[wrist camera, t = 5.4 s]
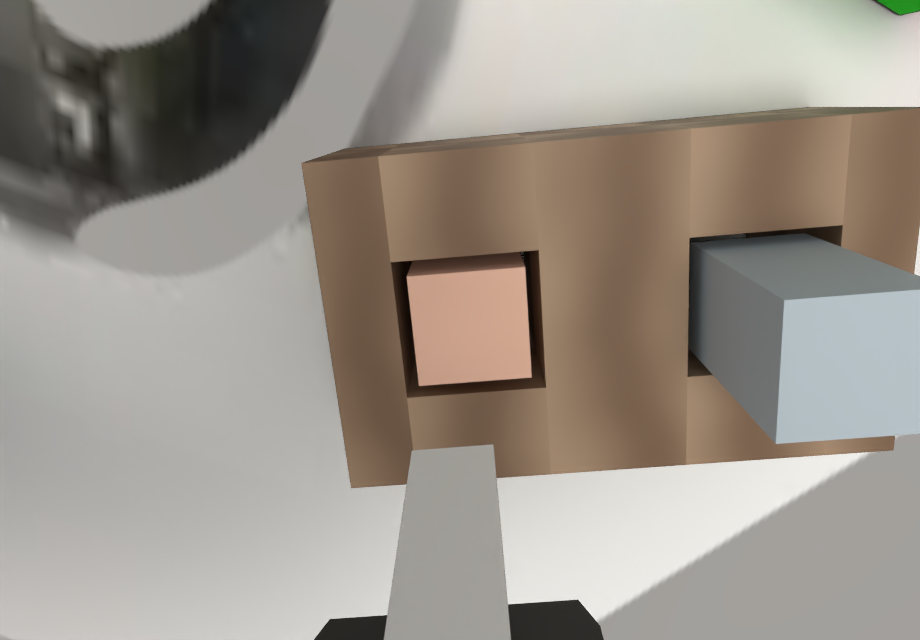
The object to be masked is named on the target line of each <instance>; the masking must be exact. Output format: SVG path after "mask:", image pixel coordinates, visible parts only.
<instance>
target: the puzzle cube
mask: <svg viewBox="0 0 920 640" xmlns="http://www.w3.org/2000/svg"><path fill="white" fill-rule="evenodd" d="M876 1H878V2H879V3H881V4H883V5H884V6H886V7H887V8H889V9H891V10H892V11H894V12H895V13H897V14H899V15H904V14H909V13H914V12H918V11H920V0H876Z"/></svg>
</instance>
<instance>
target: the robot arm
mask: <svg viewBox="0 0 920 640" xmlns="http://www.w3.org/2000/svg"><path fill="white" fill-rule="evenodd" d="M314 640H604V639H603V636H602V632H601V628H600V625H599V624H598V623H597V622H596V621H595V619H594V618H593V617H592V616H591V615H590V613H589V612H588V611H587V610H586V609H585V608H584V606H583V605H582V604H581V603H580V602H579V600H568V601H553V602H539V603H524V604H510V605H508V601H507V590H506V579H505V568H504V556H503V545H502V534H501V523H500V512H499V501H498V490H497V479H496V468H495V456H494V445H493V444H492V445H479V446H466V447H452V448H439V449H426V450H413V451H412V452H411V459H410V466H409V473H408V479H407V486H406V493H405V500H404V506H403V513H402V520H401V527H400V533H399V540H398V547H397V554H396V560H395V567H394V574H393V581H392V587H391V594H390V601H389V608H388V614H387V615H385V616H370V617H356V618H341V619H330V620H329V621H328V622H327V624H326V625H325V626H324V628H323V629H322V630H321V631H320V633H319V634H318V635H317V637H316V638H315V639H314Z"/></svg>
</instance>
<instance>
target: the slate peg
mask: <svg viewBox="0 0 920 640" xmlns="http://www.w3.org/2000/svg"><path fill="white" fill-rule="evenodd" d="M689 349H690V350H691V351H692V352H693V353H694V355H695V356H696V357H697V358H698V359H699V360H700V361H701V362H702V363H703V364H704V366H705V367H706V368H707V369H708V370H709V371H710V372H711V373H712V374H713V375H714V377H715V378H716V379H717V380H718V381H719V382H720V383H721V384H722V385H723V386H724V388H725V389H726V390H727V391H728V392H729V393H730V394H731V395H732V396H733V397H734V399H735V400H736V401H737V402H738V403H739V404H740V405H741V406H742V407H743V408H744V410H745V411H746V412H747V413H748V414H749V415H750V416H751V417H752V418H753V419H754V421H755V422H756V423H757V424H758V425H759V426H760V427H761V428H762V429H763V430H764V431H765V433H766V434H767V435H768V436H769V437H770V438H771V439H772V440H773V441H774V442H775V444H782V443H796V442H810V441H824V440H838V439H853V438H867V437H881V436H895V435H908V434H920V276H917V275H915V274H912V273H909V272H907V271H904V270H901V269H899V268H896V267H893V266H891V265H888V264H885V263H883V262H880V261H877V260H875V259H872V258H869V257H867V256H864V255H861V254H859V253H856V252H853V251H851V250H848V249H845V248H843V247H840V246H837V245H835V244H832V243H829V242H827V241H824V240H821V239H819V238H816V237H813V236H811V235H808V234H806V233H802V234H789V235H777V236H765V237H753V238H741V239H729V240H717V241H704V242H692V243H690V302H689Z"/></svg>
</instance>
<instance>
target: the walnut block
mask: <svg viewBox="0 0 920 640" xmlns="http://www.w3.org/2000/svg"><path fill="white" fill-rule="evenodd" d="M302 170H303V177H304V183H305V189H306V196H307V203H308V209H309V216H310V222H311V229H312V235H313V242H314V248H315V255H316V261H317V268H318V274H319V281H320V287H321V294H322V300H323V307H324V313H325V320H326V327H327V333H328V340H329V346H330V353H331V359H332V366H333V372H334V379H335V385H336V392H337V398H338V405H339V411H340V418H341V424H342V431H343V437H344V444H345V450H346V457H347V463H348V470H349V476H350V483H351V488H360V487H374V486H388V485H403V484H407V479H408V473H409V466H410V459H411V452H412V451H413V450H426V449H439V448H452V447H466V446H479V445H492V444H493V445H494V456H495V468H496V478H503V477H517V476H531V475H546V474H560V473H574V472H589V471H603V470H617V469H632V468H646V467H660V466H675V465H689V464H703V463H718V462H732V461H746V460H761V459H775V458H789V457H804V456H818V455H832V454H847V453H861V452H875V451H890V450H893V449H894V440H895V436H881V437H867V438H853V439H838V440H824V441H810V442H796V443H782V444H775V442H774V441H773V440H772V439H771V438H770V437H769V436H768V435H767V434H766V433H765V431H764V430H763V429H762V428H761V427H760V426H759V425H758V424H757V423H756V422H755V421H754V419H753V418H752V417H751V416H750V415H749V414H748V413H747V412H746V411H745V410H744V408H743V407H742V406H741V405H740V404H739V403H738V402H737V401H736V400H735V399H734V397H733V396H732V395H731V394H730V393H729V392H728V391H727V390H726V389H725V388H724V386H723V385H722V384H721V383H720V382H719V381H718V380H717V379H716V378H715V377H714V375H713V374H712V373H711V372H710V371H709V370H708V369H707V368H706V367H705V366H704V364H703V363H702V362H701V361H700V360H699V359H698V358H697V357H696V356H695V355H694V353H693V352H692V351H691V350H690V349H689V241H690V238H692V237H704V236H716V235H728V234H741V233H746V238H753V237H765V236H777V235H789V234H802V233H806V234H808V235H811V236H813V237H816V238H819V239H821V240H824V241H827V242H829V243H832V244H835V245H837V246H840V247H843V248H845V249H848V250H851V251H853V252H856V253H859V254H861V255H864V256H867V257H869V258H872V259H875V260H877V261H880V262H883V263H885V264H888V265H891V266H893V267H896V268H899V269H901V270H904V271H907V272H909V273H912V274H914V269H915V261H916V252H917V244H918V235H919V227H920V107H806V108H795V109H783V110H772V111H761V112H750V113H739V114H727V115H716V116H705V117H694V118H683V119H671V120H660V121H649V122H638V123H627V124H615V125H604V126H593V127H582V128H571V129H560V130H548V131H537V132H526V133H515V134H504V135H492V136H481V137H470V138H459V139H448V140H436V141H425V142H414V143H403V144H392V145H380V146H369V147H358V148H347V149H342V150H339V151H336V152H334V153H331V154H327V155H325V156H321V157H319V158H315V159H312V160H310V161H306V162H304V163H302ZM523 251H524V265H525V272H526V289H527V306H528V323H529V340H530V356H531V373H532V378H519V379H505V380H492V381H479V382H466V383H452V384H439V385H426V386H419V381H418V373H417V364H416V355H415V346H414V337H413V329H412V320H411V311H410V302H409V293H408V284H407V274H408V272H409V269H410V266H411V264H412V261H414V260H426V259H438V258H450V257H462V256H474V255H486V254H498V253H510V252H523Z"/></svg>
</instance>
